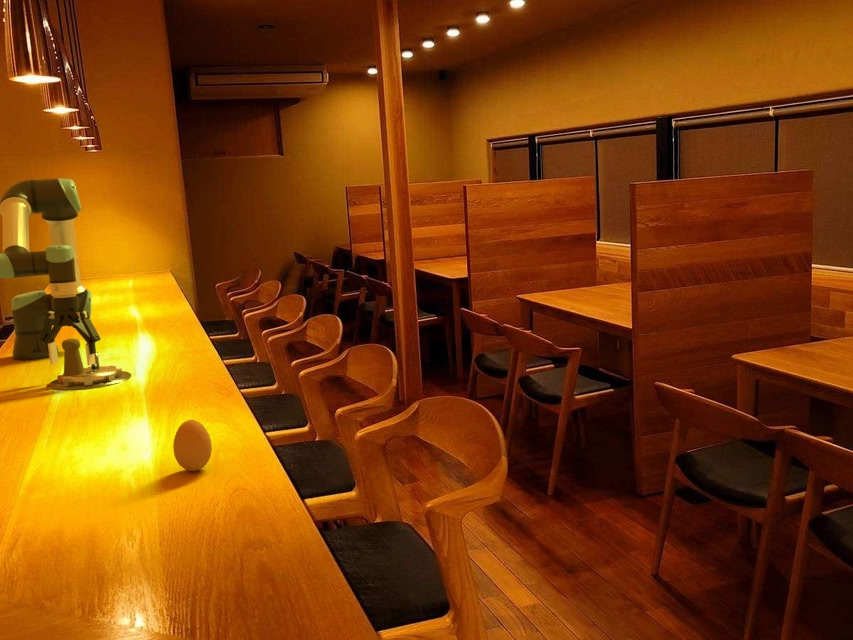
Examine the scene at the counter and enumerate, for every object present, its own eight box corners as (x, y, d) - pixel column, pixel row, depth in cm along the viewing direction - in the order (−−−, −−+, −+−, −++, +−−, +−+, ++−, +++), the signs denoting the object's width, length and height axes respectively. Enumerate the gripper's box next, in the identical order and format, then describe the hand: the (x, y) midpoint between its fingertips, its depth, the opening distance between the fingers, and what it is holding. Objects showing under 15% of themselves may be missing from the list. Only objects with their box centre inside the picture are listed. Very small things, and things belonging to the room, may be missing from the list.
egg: (198, 478, 160) (193, 427, 158) (167, 475, 163) (162, 424, 161) (221, 466, 167) (216, 416, 165) (191, 462, 170) (186, 413, 168)
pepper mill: (89, 372, 248) (85, 337, 246) (72, 376, 243) (67, 341, 241) (76, 370, 251) (72, 336, 249) (59, 375, 246) (55, 340, 244)
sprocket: (49, 388, 240) (46, 365, 238) (69, 373, 258) (66, 352, 257) (113, 383, 241) (110, 361, 240) (128, 369, 260) (126, 348, 259)
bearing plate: (30, 388, 242) (30, 387, 242) (84, 370, 264) (83, 368, 264) (98, 391, 235) (97, 389, 235) (146, 371, 258) (146, 370, 258)
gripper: (21, 297, 243) (30, 365, 246) (91, 297, 236) (99, 367, 240) (39, 294, 250) (47, 360, 253) (107, 294, 243) (115, 361, 247)
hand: (72, 363), depth 247 cm, fingers open, 13 cm apart
